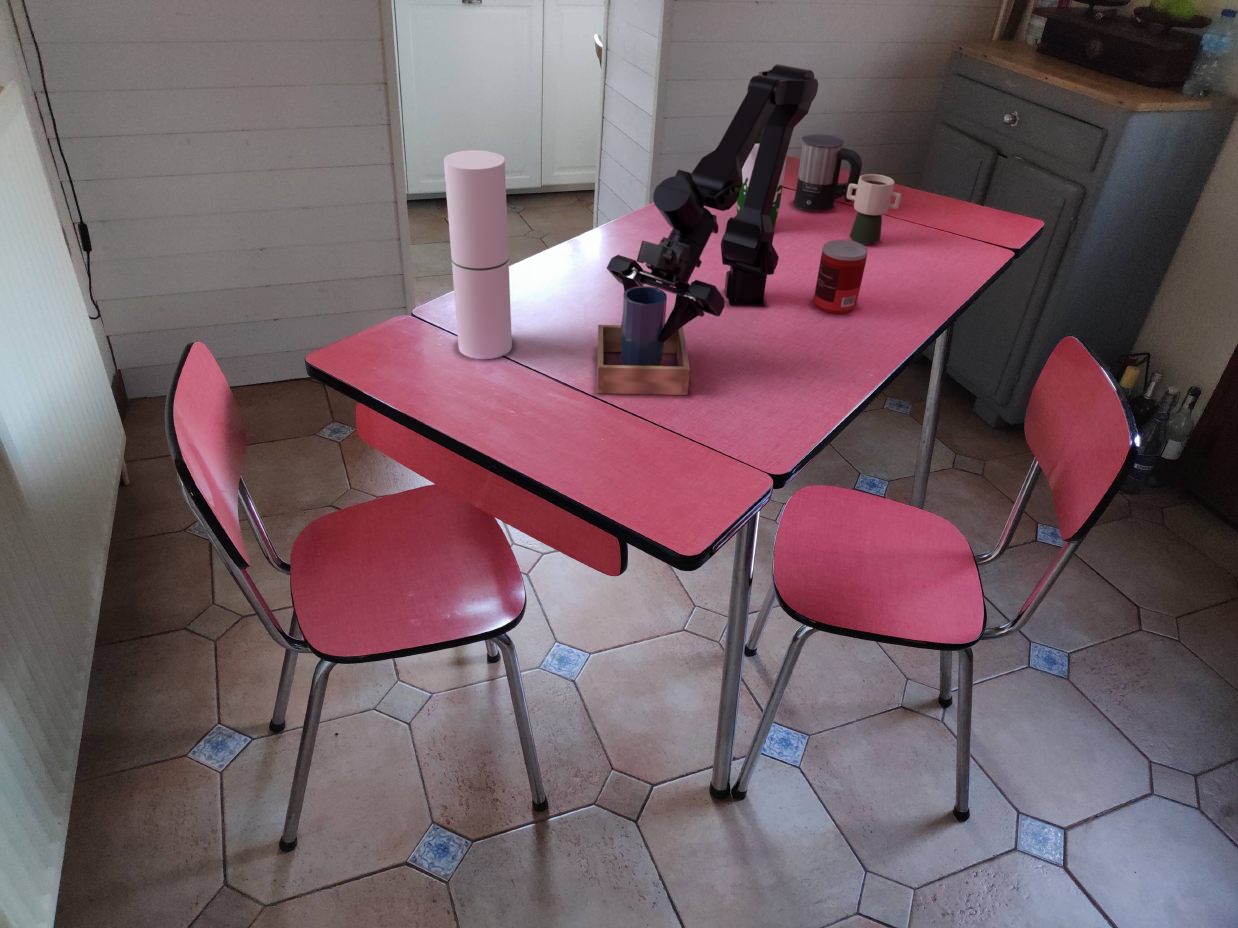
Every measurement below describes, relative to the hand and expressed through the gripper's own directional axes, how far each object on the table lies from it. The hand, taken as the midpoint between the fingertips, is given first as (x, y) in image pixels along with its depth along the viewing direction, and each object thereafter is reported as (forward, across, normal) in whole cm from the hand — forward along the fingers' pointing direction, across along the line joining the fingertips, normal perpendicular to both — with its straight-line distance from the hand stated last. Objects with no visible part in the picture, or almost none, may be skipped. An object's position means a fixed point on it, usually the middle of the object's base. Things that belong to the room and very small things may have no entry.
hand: (641, 334), depth 135 cm
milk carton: (-43, -16, +52) cm, 69 cm away
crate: (+4, 0, +5) cm, 7 cm away
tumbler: (+4, 0, +5) cm, 7 cm away
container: (+11, -24, -1) cm, 27 cm away
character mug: (-48, +6, +58) cm, 75 cm away
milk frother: (-59, -11, +69) cm, 92 cm away
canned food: (-25, +14, +34) cm, 45 cm away
